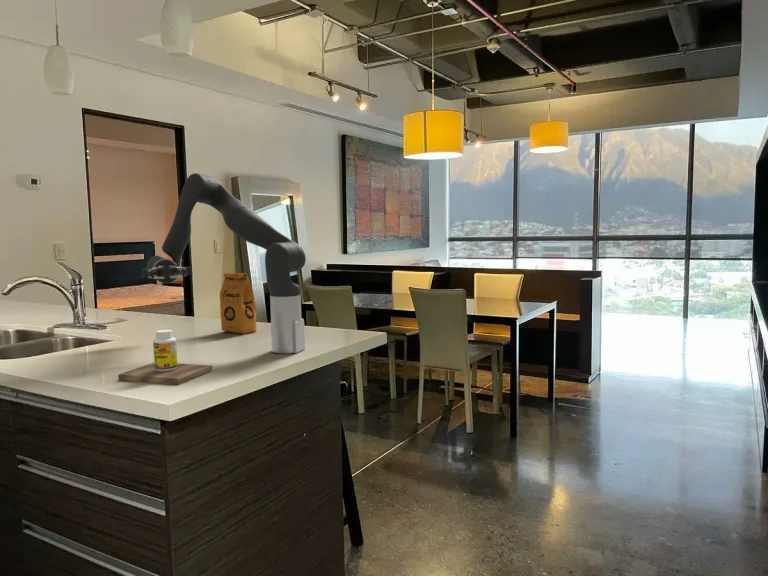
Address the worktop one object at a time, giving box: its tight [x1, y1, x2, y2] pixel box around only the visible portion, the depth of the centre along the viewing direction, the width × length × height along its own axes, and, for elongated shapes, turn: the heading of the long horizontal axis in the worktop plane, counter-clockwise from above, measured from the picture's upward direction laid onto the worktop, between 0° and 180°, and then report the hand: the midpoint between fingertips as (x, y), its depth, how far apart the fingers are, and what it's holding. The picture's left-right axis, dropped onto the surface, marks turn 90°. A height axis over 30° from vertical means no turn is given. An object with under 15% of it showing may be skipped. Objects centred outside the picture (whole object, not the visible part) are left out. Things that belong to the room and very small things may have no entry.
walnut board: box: [117, 362, 213, 386], centre depth 150 cm, size 18×14×2 cm
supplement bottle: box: [152, 329, 178, 372], centre depth 150 cm, size 6×6×10 cm
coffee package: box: [219, 272, 257, 335], centre depth 213 cm, size 10×12×22 cm
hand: (168, 273), depth 170 cm, fingers open, 8 cm apart
